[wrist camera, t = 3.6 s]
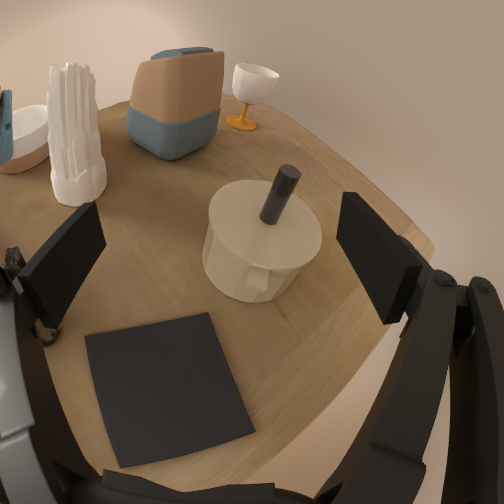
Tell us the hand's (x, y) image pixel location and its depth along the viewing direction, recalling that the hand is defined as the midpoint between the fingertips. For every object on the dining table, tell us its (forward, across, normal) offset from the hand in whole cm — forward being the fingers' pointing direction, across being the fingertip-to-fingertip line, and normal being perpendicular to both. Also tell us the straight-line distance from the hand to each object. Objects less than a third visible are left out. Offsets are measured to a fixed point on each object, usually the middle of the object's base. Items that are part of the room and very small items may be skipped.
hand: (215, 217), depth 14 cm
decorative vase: (+32, -28, -8) cm, 44 cm away
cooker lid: (+21, +5, -11) cm, 24 cm away
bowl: (+40, -48, +1) cm, 63 cm away
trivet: (+4, -8, -24) cm, 25 cm away
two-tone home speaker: (+52, -14, -5) cm, 54 cm away
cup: (+69, +2, -3) cm, 69 cm away
